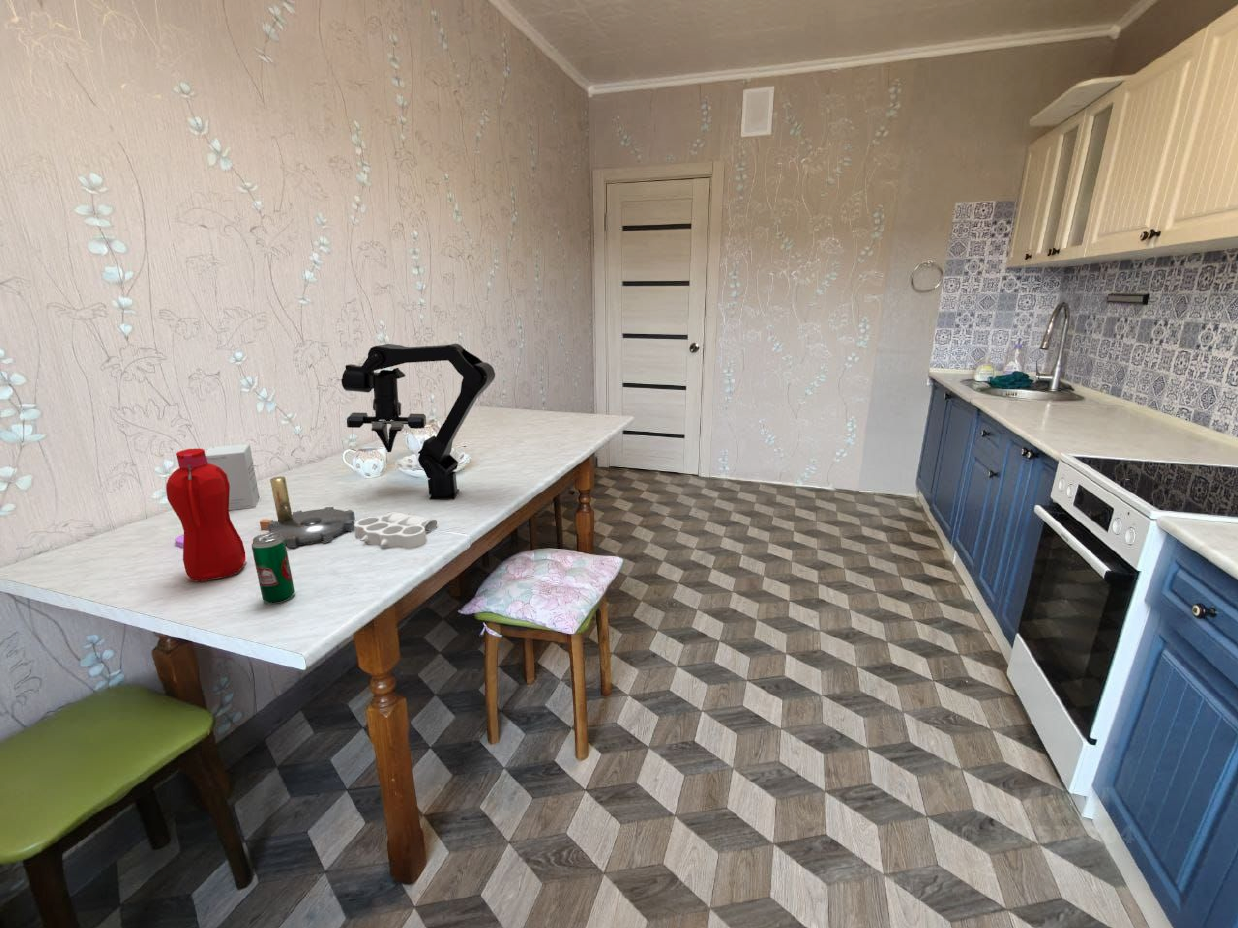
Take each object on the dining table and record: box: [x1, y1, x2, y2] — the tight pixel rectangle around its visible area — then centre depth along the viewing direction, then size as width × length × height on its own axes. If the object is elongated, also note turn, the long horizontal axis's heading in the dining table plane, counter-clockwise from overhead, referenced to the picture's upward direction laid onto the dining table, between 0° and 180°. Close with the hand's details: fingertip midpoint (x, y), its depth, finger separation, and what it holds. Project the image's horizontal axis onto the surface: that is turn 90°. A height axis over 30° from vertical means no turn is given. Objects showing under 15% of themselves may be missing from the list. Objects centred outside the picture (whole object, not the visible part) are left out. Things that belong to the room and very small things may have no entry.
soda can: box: [251, 531, 296, 604], centre depth 101 cm, size 5×5×12 cm
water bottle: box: [165, 448, 246, 582], centre depth 108 cm, size 9×11×25 cm
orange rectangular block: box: [259, 519, 274, 531], centre depth 132 cm, size 2×1×2 cm, turn 83°
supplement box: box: [205, 443, 260, 511], centre depth 145 cm, size 9×9×15 cm
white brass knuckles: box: [353, 511, 438, 549], centre depth 128 cm, size 3×18×15 cm
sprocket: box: [266, 476, 356, 549], centre depth 129 cm, size 19×19×12 cm
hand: (389, 451), depth 151 cm, fingers closed
